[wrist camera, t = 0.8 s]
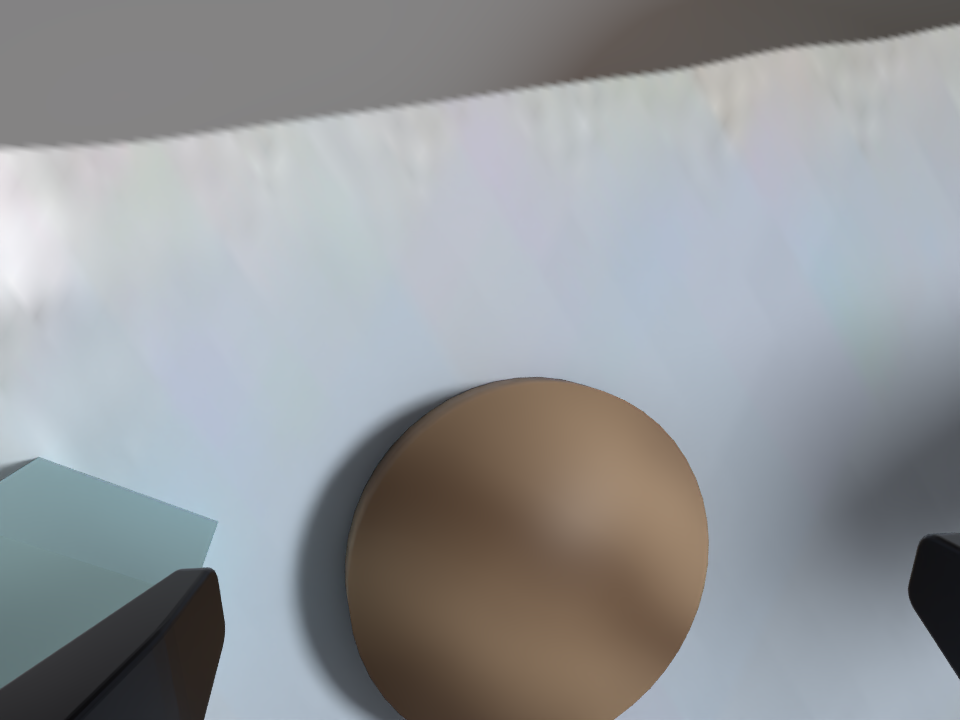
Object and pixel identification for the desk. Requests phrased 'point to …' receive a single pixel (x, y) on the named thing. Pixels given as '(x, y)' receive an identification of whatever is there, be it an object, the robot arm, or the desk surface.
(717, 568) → the desk surface
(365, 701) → the desk surface
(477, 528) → the walnut base
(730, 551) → the desk surface
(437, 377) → the desk surface
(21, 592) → the teal block
